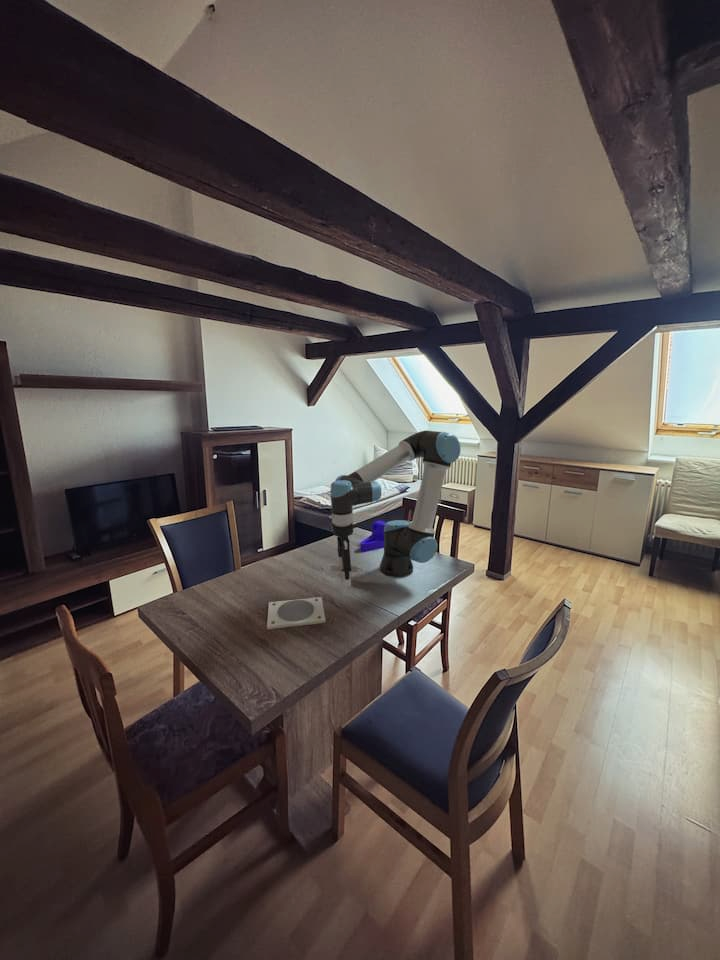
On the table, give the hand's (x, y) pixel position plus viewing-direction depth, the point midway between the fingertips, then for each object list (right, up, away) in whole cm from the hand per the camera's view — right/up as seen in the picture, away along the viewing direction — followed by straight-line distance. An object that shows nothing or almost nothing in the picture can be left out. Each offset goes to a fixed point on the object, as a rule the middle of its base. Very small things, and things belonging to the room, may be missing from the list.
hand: (344, 579), depth 142 cm
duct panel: (-18, -12, -3) cm, 21 cm away
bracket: (+13, +2, +58) cm, 60 cm away
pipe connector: (0, -1, 0) cm, 1 cm away
